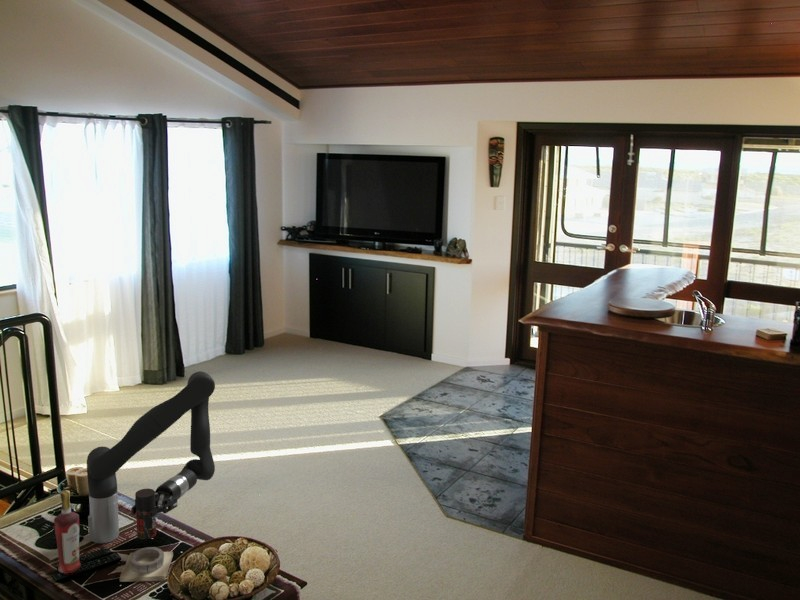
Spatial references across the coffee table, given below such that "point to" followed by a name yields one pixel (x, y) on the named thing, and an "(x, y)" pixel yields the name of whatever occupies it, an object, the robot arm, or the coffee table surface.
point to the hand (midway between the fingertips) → (140, 513)
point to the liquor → (67, 536)
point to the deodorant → (145, 513)
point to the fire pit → (147, 565)
